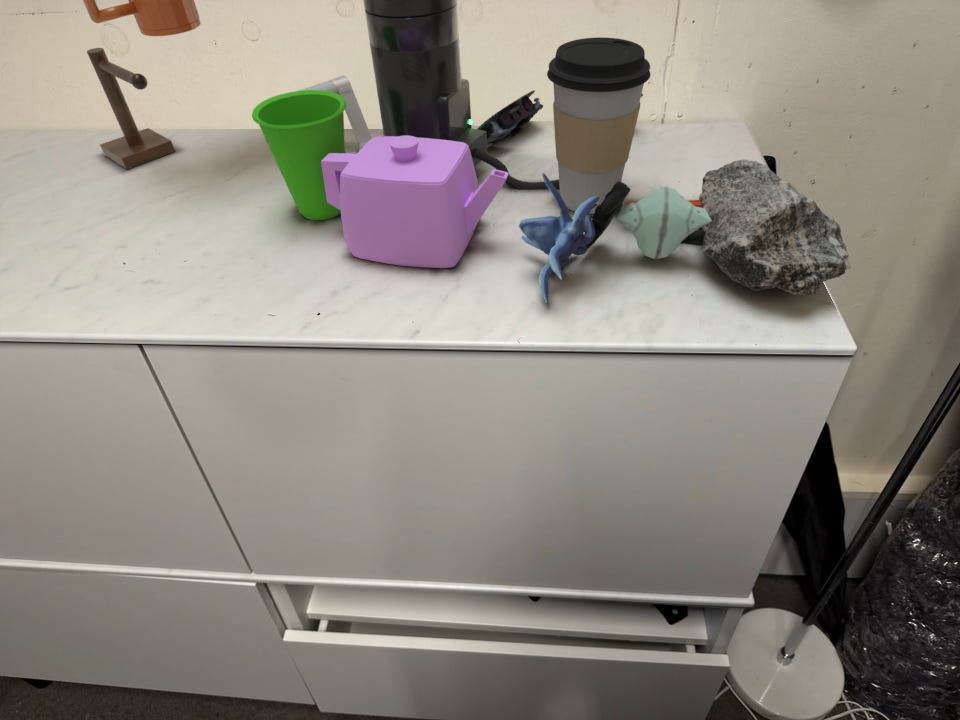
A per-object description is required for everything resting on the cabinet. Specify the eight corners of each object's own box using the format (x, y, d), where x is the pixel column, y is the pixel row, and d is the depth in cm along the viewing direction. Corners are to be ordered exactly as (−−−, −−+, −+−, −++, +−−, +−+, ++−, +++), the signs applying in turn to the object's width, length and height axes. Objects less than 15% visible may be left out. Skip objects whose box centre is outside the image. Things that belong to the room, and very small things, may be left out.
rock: (892, 270, 51) (866, 199, 44) (795, 348, 53) (757, 292, 47) (749, 179, 64) (712, 113, 57) (676, 245, 66) (633, 190, 60)
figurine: (551, 322, 53) (480, 278, 56) (621, 250, 59) (554, 214, 62) (571, 239, 46) (488, 193, 48) (649, 166, 52) (572, 129, 54)
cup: (378, 194, 69) (361, 93, 62) (340, 235, 63) (316, 129, 56) (308, 184, 72) (284, 86, 64) (264, 224, 65) (232, 120, 58)
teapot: (519, 221, 64) (519, 122, 57) (494, 280, 56) (491, 175, 49) (358, 205, 68) (339, 111, 61) (315, 258, 60) (288, 158, 53)
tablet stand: (325, 181, 72) (308, 109, 66) (289, 161, 76) (271, 92, 71) (384, 156, 76) (373, 86, 70) (347, 139, 80) (334, 71, 75)
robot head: (611, 267, 57) (619, 200, 52) (610, 242, 60) (618, 177, 55) (701, 271, 56) (718, 203, 51) (696, 246, 59) (712, 179, 54)
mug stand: (104, 155, 80) (55, 52, 71) (152, 138, 83) (110, 38, 75) (154, 188, 73) (106, 77, 64) (205, 167, 76) (165, 60, 68)
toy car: (478, 122, 71) (494, 145, 72) (547, 75, 76) (562, 97, 76) (454, 153, 79) (468, 173, 80) (517, 108, 83) (531, 128, 84)
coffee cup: (642, 187, 68) (664, 39, 57) (618, 230, 61) (638, 73, 51) (560, 174, 71) (567, 31, 61) (530, 213, 65) (532, 61, 54)
